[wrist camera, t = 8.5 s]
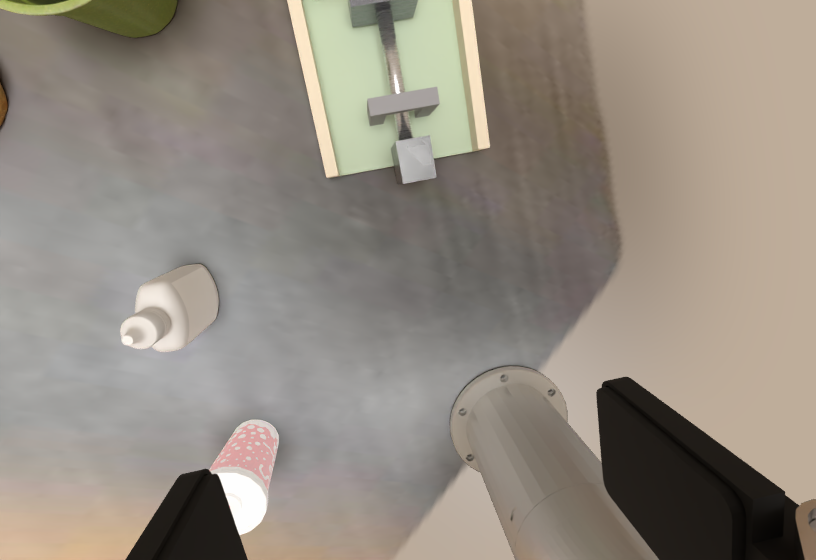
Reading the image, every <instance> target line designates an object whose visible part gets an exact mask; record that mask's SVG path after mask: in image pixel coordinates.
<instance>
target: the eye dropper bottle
mask: <svg viewBox="0 0 816 560" xmlns="http://www.w3.org/2000/svg"><path fill="white" fill-rule="evenodd" d="M218 307H219V298H218V291H217V288H216V285H215V282H214V280H213V278H212V276H211V274H210V273H209V271H208V270H207V269H206V268H205V267H204V266H203V265H201V264H193V265H185V266H181V267H179V268H177V269H174V270H172V271H170V272H168V273H166V274H163V275H161V276H159V277H157V278H155V279H152V280H150V281H148V282H146V283H144V284H143V285H141V287H140V288H139V290H138V293H137V297H136V303H135V314H134V315H132V316H131V317H129V318H127V319H126V320H125V321H124V322H123V323H122V325H121V330H120V331H121V332H120V333H121V336H122V343H123V344H124V345H129V346H131V347H133V348H136V349H146V348H149V347H153V348H154V349H155V350H157V351H159V352H169V351H175V350H180V349H182V348H184V347H185V346H186V345H188V344H189V343H190V342H191V341H192V340H193V339H195V338H196V337H197V336H198V335H199V334H200V333H201V332H202V331H204V330H205V329H206V328H207V327H208V326H209V325H210V324H211V323H212V322H213V321H214V320H215V319H216V317H217V314H218Z"/></svg>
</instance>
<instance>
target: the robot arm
mask: <svg viewBox="0 0 816 560" xmlns="http://www.w3.org/2000/svg"><path fill="white" fill-rule="evenodd" d="M502 375H503V376H502ZM597 408H598V421H599V434H600V446H601V458H602V459H601V460H602V463H601V462H600V461H599V459H598V458H597V457H596V456H595V455H594V453H593V452H592V451H591V450H590V449H589V448H588V446H587V445H586V444H585V443H584V442H583V441H582V440H581V438H580V437H579V436H578V435H577V433H576V432H575V431H574V430H573V429H572V428H571V426H570V425H569V424H568V423H567V416H568V415H567V407H566V402H565V400H564V398H563V396H562V394H561V392H560V391H559V389H558V388H557V387H556V386H555V384H554V383H553V382H552V381H551V380H550V379H549V378H547V377H546V376H544V375H543V374H541V373H540V372H537V371H535V370H533V369H530V368H525V367H520V366H508V367H502V368H497V369H494V370H491V371H488V372H486V373H484V374H482V375H481V376H479V377H477V378H476V379H475V380H473V381H472V382H471V383H470V384H468V385H467V386H466V388H465V389H464V390H463V391H462V392H461V393H460V395H459V397H458V399H457V400H456V402H455V404H454V407H453V410H452V412H451V418H450V434H451V437H452V441H453V444H454V446H455V449H456V451H457V453H458V454H459V456H460V457H461V458H462V460H463V461H464V462H465V463H466V464H468V465H469V466H470V467H471V468H473V469H475V470H476V471H478V472H481V475H482V477H483V479H484V482H485V484H486V487H487V490H488V492H489V495H490V497H491V500H492V502H493V505H494V507H495V510H496V512H497V515H498V517H499V520H500V522H501V525H502V527H503V530H504V532H505V535H506V537H507V540H508V542H509V545H510V547H511V550H512V552H513V555H514V557H515V560H816V499H812V500H809V501H806V502H804V503H801V505H800V506H799V505H798V504H796V503H795V502H794V501H792V500H791V499H790V498H788V497H787V496H786V495H785V491H783V490H782V489H781V488H779V487H778V486H777V485H775V484H774V483H772V482H771V481H770V480H768V479H767V478H766V477H764V476H763V475H762V474H760V473H759V472H757V471H756V470H755V469H753V468H752V467H751V466H749V465H748V464H747V463H745V462H744V461H742V460H741V459H739V458H738V457H737V456H736V455H734V454H733V453H732V452H730V451H729V450H727V449H726V448H725V447H723V446H722V445H721V444H719V443H718V442H717V441H715V440H714V439H713V438H711V437H710V436H708V435H707V434H706V433H704V432H703V431H702V430H700V429H699V428H698V427H696V426H695V425H694V424H692V423H691V422H689V421H688V420H687V419H685V418H684V417H683V416H681V415H680V414H678V413H677V412H676V411H674V410H673V409H672V408H670V407H669V406H668V405H666V404H665V403H664V402H662V401H661V400H659V399H658V398H657V397H655V396H654V395H653V394H651V393H650V392H649V391H647V390H646V389H644V388H643V387H642V386H640V385H639V384H638V383H636V382H635V381H634V380H632V379H631V378H629V377H622V378H618V379H613V380H608V381H605V382H603V384H602V388H600V389H598V390H597ZM126 560H248V559H247V556H246V553H245V551H244V548H243V545H242V542H241V539H240V536H239V533H238V530H237V527H236V524H235V521H234V518H233V515H232V512H231V510H230V507H229V504H228V501H227V498H226V495H225V492H224V489H223V486H222V483H221V480H220V478H219V476H218V475H217V474H212V473H211V472H210V471H209V470H208V469H203V470H199V471H194V472H190V473H185V474H182V475H180V476H179V477H178V478H177V480H176V481H175V483H174V485H173V486H172V488H171V489H170V491H169V492H168V494H167V495H166V497H165V499H164V500H163V502H162V503H161V505H160V506H159V508H158V510H157V511H156V513H155V514H154V516H153V517H152V519H151V521H150V522H149V524H148V525H147V527H146V528H145V530H144V532H143V533H142V535H141V536H140V538H139V539H138V541H137V542H136V544H135V546H134V547H133V549H132V550H131V552H130V553H129V555H128V557H127V558H126Z"/></svg>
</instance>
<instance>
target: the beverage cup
mask: <svg viewBox="0 0 816 560" xmlns="http://www.w3.org/2000/svg"><path fill="white" fill-rule="evenodd" d="M278 445H279V435H278V433H277V431H276V429H275V428H274V427H273V426H272V425H271V424H270V423H268V422H266V421H263V420H249V421H246V422H243V423H242V424H241V425H239V426H238V427H237V428H236V430H235V431H234V433H233V434H232V436H231V437H230V439H229V440H228V442H227V443H226V445H225V446H224V448H223V449H222V451H221V453H220V454H219V456H218V457H217V459H216V460H215V462H214V463H213V465H212V466H211V468H210V469H209V471H210V472H211V473H212V474H217V475H218V476H219V478H220V480H221V483H222V486H223V489H224V492H225V495H226V498H227V501H228V504H229V507H230V510H231V512H232V515H233V518H234V521H235V524H236V527H237V530H238V533H239V535H241V534H244V533H247V532H249V531H251V530H252V529H253V528H255V527H256V526H257V525H258V524H259V523H261V521H262V519H263V517H264V515H265V513H266V510H267V505H268V489H269V484H270V480H271V475H272V471H273V467H274V462H275V458H276V453H277V449H278Z"/></svg>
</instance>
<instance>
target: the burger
mask: <svg viewBox="0 0 816 560" xmlns="http://www.w3.org/2000/svg"><path fill="white" fill-rule="evenodd" d="M7 108H8V104H7V99H6V95H5V93H4V90H3V88H2V86H1V83H0V126H1V124H2V122H3V119H5V114H6V113H7Z"/></svg>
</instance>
